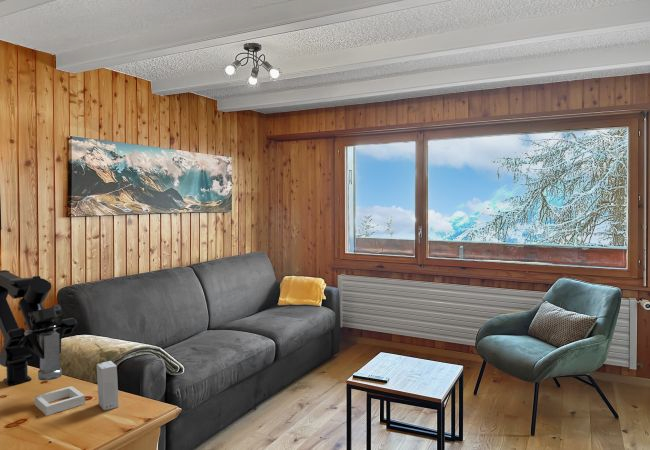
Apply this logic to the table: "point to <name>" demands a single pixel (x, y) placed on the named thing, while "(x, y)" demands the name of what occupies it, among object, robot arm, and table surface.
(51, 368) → the end cover
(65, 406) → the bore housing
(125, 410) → the table surface
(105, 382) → the skincare box
